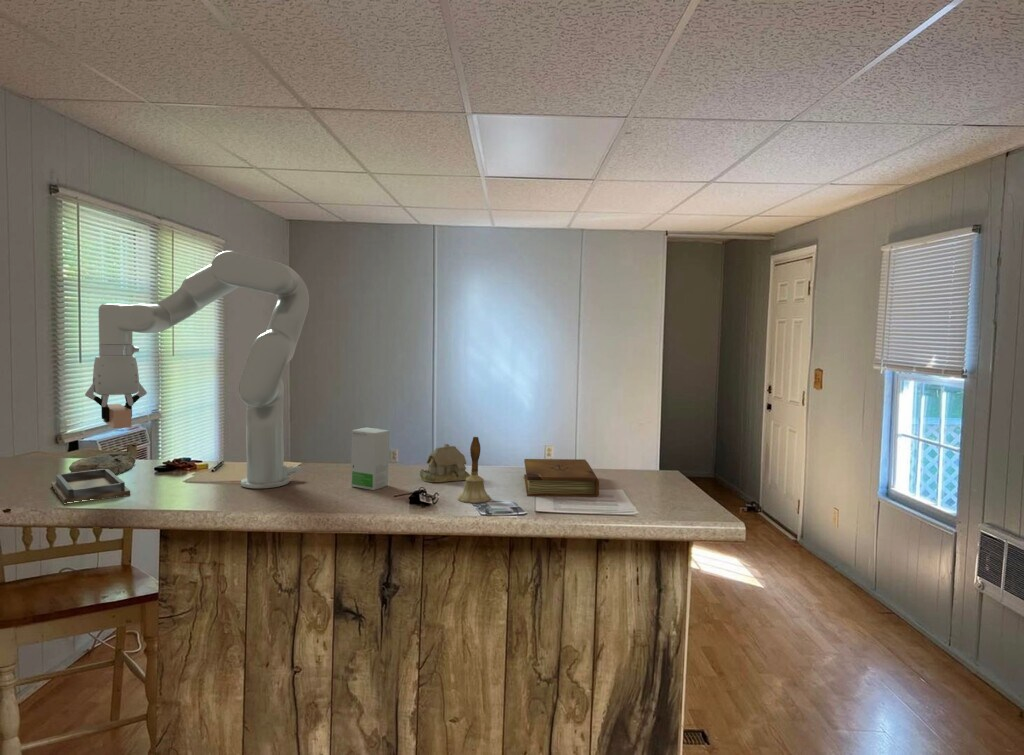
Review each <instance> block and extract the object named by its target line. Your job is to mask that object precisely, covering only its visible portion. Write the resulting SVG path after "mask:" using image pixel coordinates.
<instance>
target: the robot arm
mask: <svg viewBox="0 0 1024 755" xmlns="http://www.w3.org/2000/svg"><path fill="white" fill-rule="evenodd" d="M239 288H242V289H247V290H251V291H256V292H259V293H260V292H261V293H264V294H268V295H273V296H276V303H275V306H274V308H273V311H272V313H271V316H270V320H269V322H268V325H267V327H266V330H265V331H264V332H263V333H261V334H260V335H258V336H257V337H256V338H255V339H254V341H253V343H252V345H251V347H250V349H249V352H248V355H247V358H246V360H245V363H244V366H243V369H242V371H241V375H240V377H239V380H238V384H237V392H238V396H239V399H240V400H241V401H242V402H243V403H244V404H245V406H246V407H245V409H246V410H245V443H246V444H245V445H246V451H245V452H246V477H244V478H243V479H241V480H240V486H241V487H243V488H247V489H260V490H262V489H273V488H278V487H282V486H286V485H288V484H289V483H290V481H291V480H290V476H291V474H294V475H296V474H300V473H301V472H302V468H301V466H300V465H298V466H287V465H285V463H284V462H285V461H284V402H285V401H284V399H285V384H284V380H283V378H282V377H283V374H284V372H285V369H286V366H287V364H288V363H289V362H290V361H292V359H293V357H294V355H295V352H296V348H297V344H298V342H299V339H300V336H301V334H302V330H303V327H304V324H305V320H306V317H307V314H308V312H309V306H310V294H309V290H308V287H307V285H306V282H305V281H304V280H303V278H302V277H301V276H300V275H299V273H298V272H296V270H294V269H293V268H291V267H290V266H289V265H286V264H284V263H281V262H279V261H275V260H270V259H265V258H261V257H257V256H252V255H248V254H244V253H240V252H236V251H234V250H225V251H224V250H223V251H222V252H219V253H218V254H216V255H215V256H214V258H213V259H212V261H211V264H208V265H207V266H205V267H203V268H201V269H200V270H198V271H196V272H194V273H192V274H190V275H189V276H187V277H185V279H183V281H182V283H181V286H180V287H179V288H178V289H177V290H175V291H174V292H173V293H172V294H170V295H169V296H166V297H165V298H163V299H161V300H159V301H157V302H155V303H153V304H152V303H147V304H146V303H138V304H137V303H136V304H125V303H102V304H100V305H99V307H98V351H99V352H98V355H96V356H95V358H94V362H93V363H94V364H93V371H92V384H91V385H90V387H89V388H88V389H87V391H86V392H85V393H84V394H85V397H87V398H88V399H91V400H93V401H94V402H96V404H98V405H99V406H101V407H100V408H101V420H103V419H104V421H105V422H109V407H108V405H109V404H108V402H109V401H108V400H109V398H110V397H109V396H119V395H120V396H121V395H124V398H125V404H124V405H123V406H124V407H126V408H129V409H131V418H132V417H133V406H134V404H135V403H136V402H137V401H138V400H139V399H141V398H143V397H144V396H146V395H147V394H148V393H147V391H146V389H145V388H144V387H143V385H142V384H141V382H140V377H139V367H138V362H137V358H136V356H134V354H135V353H139V351H140V347H139V346H135V345H134V342H133V339H134V338H133V333H139V334H150V333H153V334H154V333H161V332H164V331H166V330H169V329H170V328H172V327H174V326H176V325H178V324H179V323H182V322H183V321H185V320H186V319H189V317H191V316H192V315H194V314H196V313H197V312H199V311H201V310H202V309H204V307H206V306H208V305H209V304H211V303H213V302H215V301H217V300H218V299H220V298H222V297H224V296H226V295H227V294H229V293H231V292H234V291H235V290H237V289H239ZM94 393H95V394H97V395H99V396H100V397H99V396H97V395H95V394H94ZM105 422H104V423H105Z"/></svg>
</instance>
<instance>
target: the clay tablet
mask: <svg viewBox="0 0 1024 755" xmlns="http://www.w3.org/2000/svg"><path fill="white" fill-rule="evenodd" d="M131 455H132V454H131V452H129V451H114V452H105V453H99V454H96V455H92V456H88V457H84V458H80V459H77V460H75V461H73V462H72V463H71V464H70V465H69V467H68V470H69V471H70V473H72V472H81V471H89V470H98V469H109V470H110V471H111V472H113V473H114V474H116V475H119V474H118V473H120V474H122V473H121V472H123V473H125V472H126V471H129V470H132V469H133V468H134V465H135V463H136V461H137V460H136V458H135V457H132V456H131ZM128 469H129V470H128ZM125 470H126V471H125Z"/></svg>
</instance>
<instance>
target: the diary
mask: <svg viewBox="0 0 1024 755" xmlns="http://www.w3.org/2000/svg"><path fill="white" fill-rule="evenodd" d="M524 467H525V468H524V469H525V473H526V474H524V475H523V478H524V484H525V491H526V497H556V498H557V497H560V498H561V497H566V498H567V497H568V498H570V497H572V498H574V497H575V498H579V497H580V498H583V497H584V498H590V497H591V498H598V497H599V495H600V480H599V478H598V477H597V475H596V474H595V472H594V471H593V469H592V467H591V465H590V463H589V462H588V461H587V460H586V459H585V458H584V459H582V458H581V459H573V458H572V459H571V458H570V459H568V458H565V459H563V458H561V459H560V458H554V459H553V458H524Z"/></svg>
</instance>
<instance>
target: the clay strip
mask: <svg viewBox="0 0 1024 755" xmlns="http://www.w3.org/2000/svg"><path fill="white" fill-rule="evenodd" d="M124 406H125V405H123V404H120V403H113V404H110V403H109V404H108V407H109V422H105V421H104V419H102V420H103V422H104V423H105V424H107V426H109V427H111V428H112V429H124V428H125V429H127V428H132V426H133V425H132V423H133V422H132V417H131V409H129V408H126V407H124Z"/></svg>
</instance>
